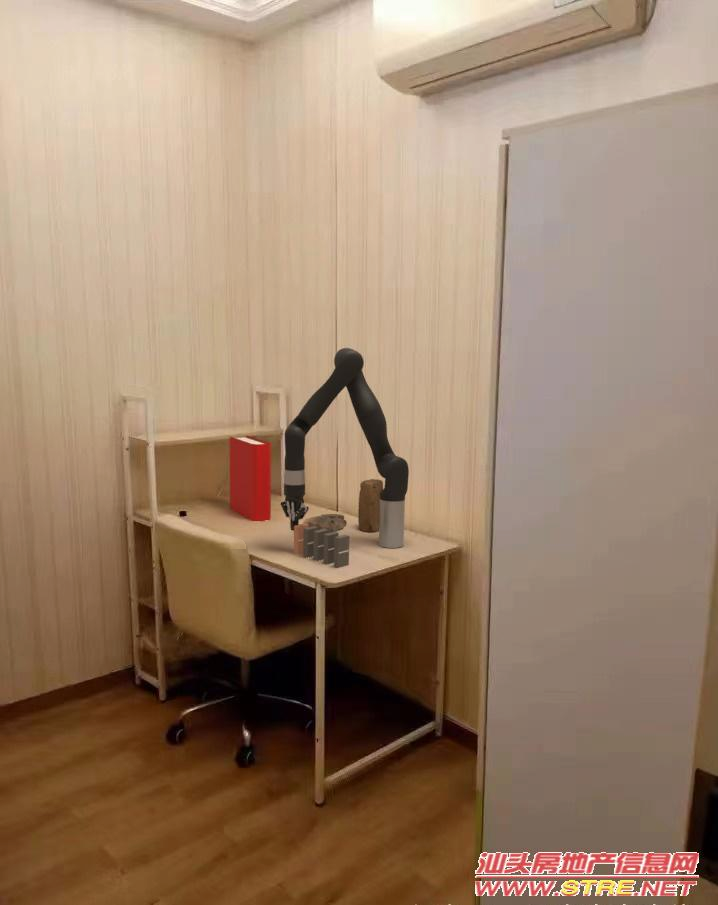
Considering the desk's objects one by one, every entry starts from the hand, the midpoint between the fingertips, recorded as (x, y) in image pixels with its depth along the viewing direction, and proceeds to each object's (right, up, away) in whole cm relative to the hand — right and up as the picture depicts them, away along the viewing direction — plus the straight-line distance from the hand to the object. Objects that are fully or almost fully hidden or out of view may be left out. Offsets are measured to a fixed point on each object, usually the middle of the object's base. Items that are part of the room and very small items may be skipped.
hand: (294, 530), depth 259 cm
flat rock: (+10, -3, +35) cm, 36 cm away
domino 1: (+2, -8, -2) cm, 8 cm away
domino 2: (+6, -8, -5) cm, 12 cm away
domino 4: (+13, -10, -12) cm, 20 cm away
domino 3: (+10, -9, -8) cm, 16 cm away
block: (+28, -3, +32) cm, 43 cm away
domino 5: (+17, -10, -15) cm, 25 cm away
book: (-23, +1, +53) cm, 58 cm away
